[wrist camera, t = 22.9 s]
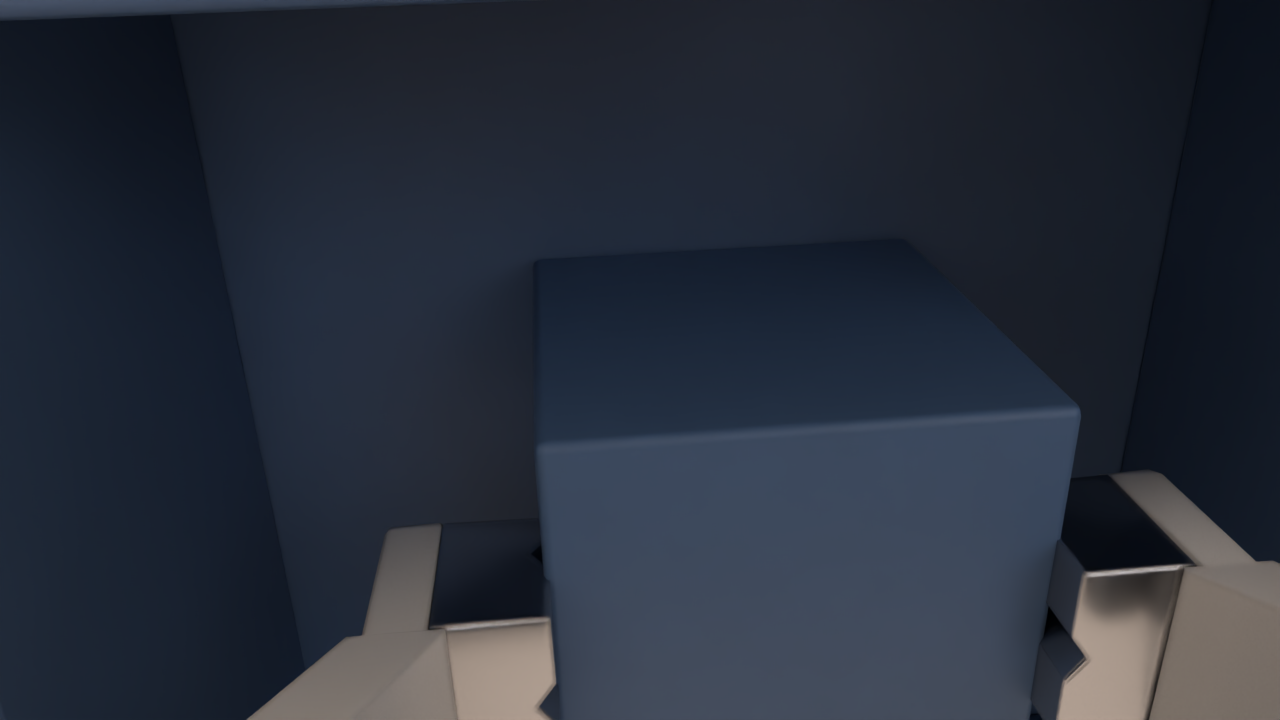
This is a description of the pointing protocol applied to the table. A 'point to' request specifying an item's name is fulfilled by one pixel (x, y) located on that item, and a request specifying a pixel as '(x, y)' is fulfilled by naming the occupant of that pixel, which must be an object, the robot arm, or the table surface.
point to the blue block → (791, 487)
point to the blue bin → (551, 229)
